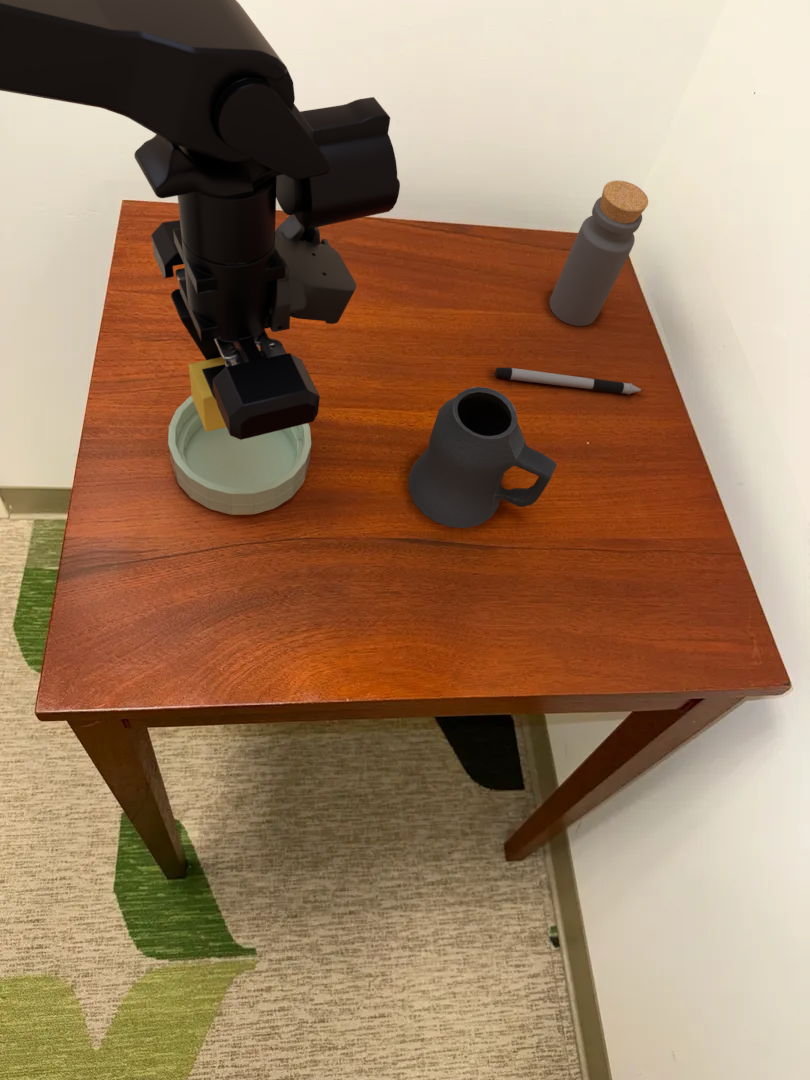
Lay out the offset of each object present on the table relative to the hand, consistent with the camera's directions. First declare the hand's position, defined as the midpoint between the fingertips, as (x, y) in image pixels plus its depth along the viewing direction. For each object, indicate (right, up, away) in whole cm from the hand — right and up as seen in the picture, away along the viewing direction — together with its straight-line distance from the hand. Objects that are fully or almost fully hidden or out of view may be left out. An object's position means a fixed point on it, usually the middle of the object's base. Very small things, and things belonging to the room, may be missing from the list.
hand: (234, 398), depth 61 cm
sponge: (0, -1, +1) cm, 1 cm away
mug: (+20, -7, +12) cm, 24 cm away
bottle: (+33, +16, +28) cm, 46 cm away
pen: (+31, +5, +22) cm, 38 cm away
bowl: (-2, -4, +10) cm, 11 cm away
